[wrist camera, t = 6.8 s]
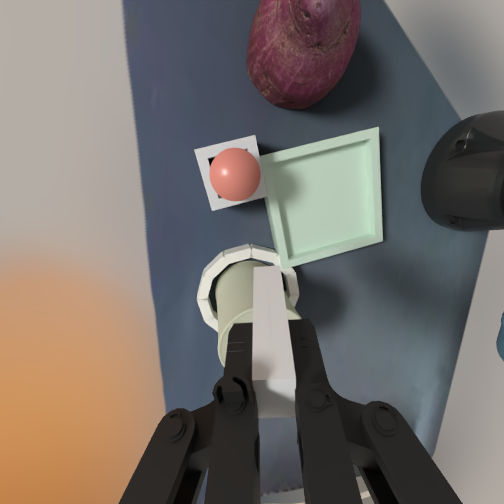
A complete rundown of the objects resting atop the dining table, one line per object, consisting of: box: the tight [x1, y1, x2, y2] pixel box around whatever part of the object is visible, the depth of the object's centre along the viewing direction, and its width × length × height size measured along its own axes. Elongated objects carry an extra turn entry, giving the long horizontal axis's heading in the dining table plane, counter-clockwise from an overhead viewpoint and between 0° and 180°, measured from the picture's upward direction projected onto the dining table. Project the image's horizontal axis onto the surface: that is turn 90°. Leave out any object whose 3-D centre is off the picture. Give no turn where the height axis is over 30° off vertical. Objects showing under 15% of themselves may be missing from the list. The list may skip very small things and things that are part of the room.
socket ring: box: [197, 244, 299, 332], centre depth 34 cm, size 14×14×2 cm
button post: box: [194, 135, 267, 211], centre depth 27 cm, size 6×6×5 cm
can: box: [215, 261, 302, 367], centre depth 29 cm, size 9×9×12 cm
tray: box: [259, 127, 383, 269], centre depth 31 cm, size 14×14×2 cm
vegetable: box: [246, 0, 361, 110], centre depth 21 cm, size 10×10×15 cm
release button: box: [209, 148, 261, 201], centre depth 25 cm, size 5×5×6 cm
